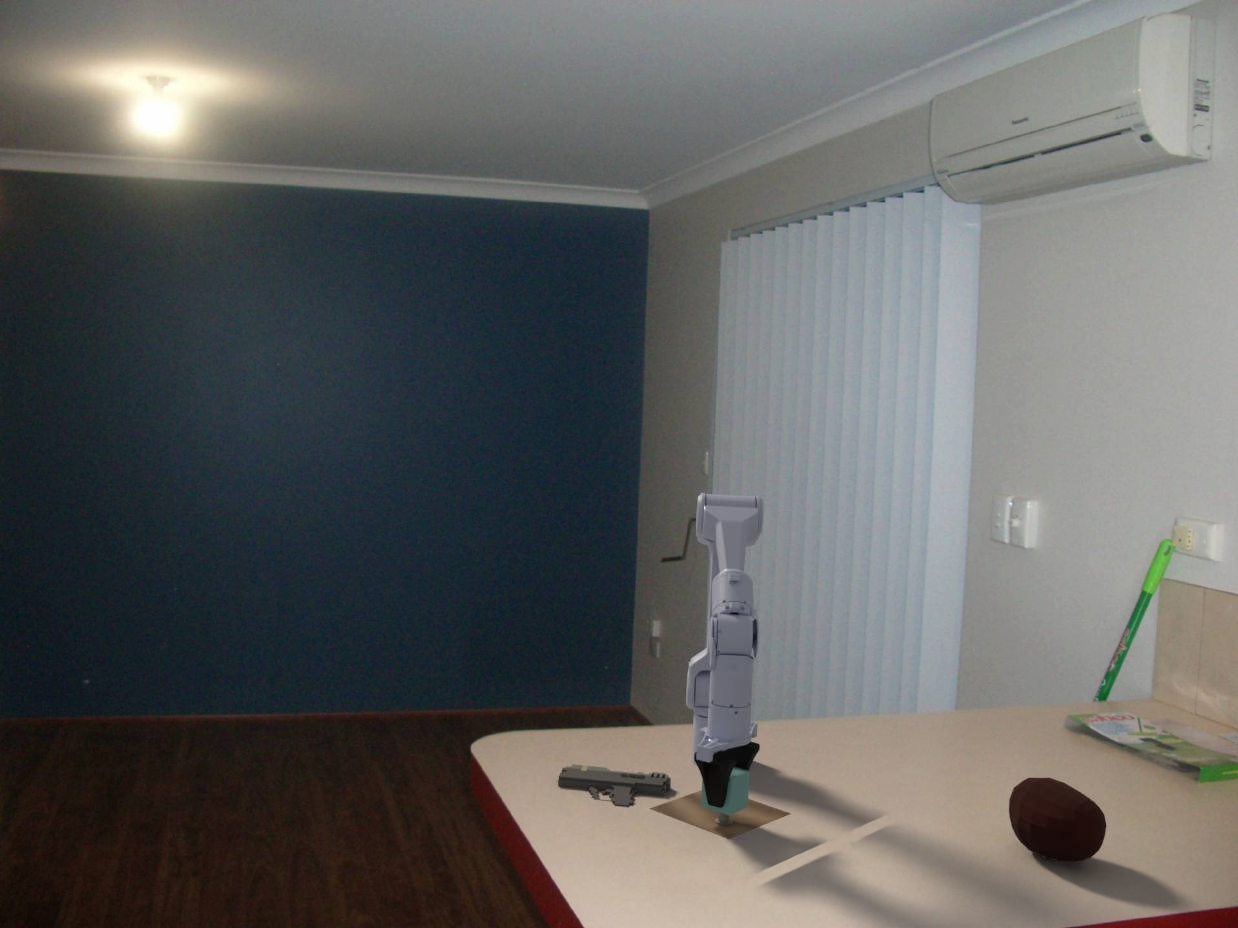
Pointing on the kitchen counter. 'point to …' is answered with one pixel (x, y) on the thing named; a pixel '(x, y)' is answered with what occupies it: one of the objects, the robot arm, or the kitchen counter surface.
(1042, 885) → the kitchen counter surface
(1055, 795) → the potato
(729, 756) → the robot arm
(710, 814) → the board
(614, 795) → the toy gun
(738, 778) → the teal cube
